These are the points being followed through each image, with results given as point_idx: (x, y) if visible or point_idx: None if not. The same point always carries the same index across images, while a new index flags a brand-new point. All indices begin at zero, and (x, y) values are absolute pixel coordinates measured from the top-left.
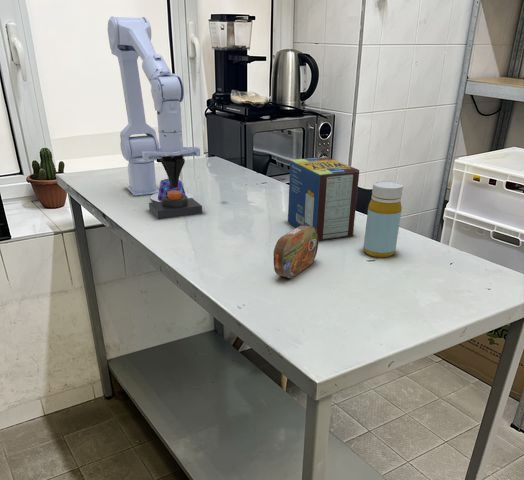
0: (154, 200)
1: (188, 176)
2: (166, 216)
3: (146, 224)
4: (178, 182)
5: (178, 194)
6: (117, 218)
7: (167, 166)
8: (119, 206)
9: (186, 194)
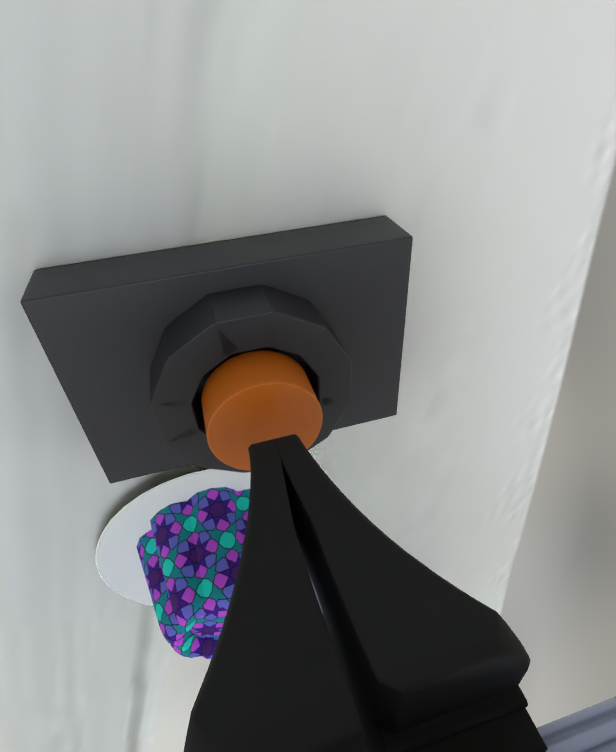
0: None
1: (103, 743)
2: (333, 228)
3: (490, 129)
4: (188, 614)
5: (240, 385)
6: (562, 296)
7: (463, 595)
8: (470, 456)
9: (132, 581)
